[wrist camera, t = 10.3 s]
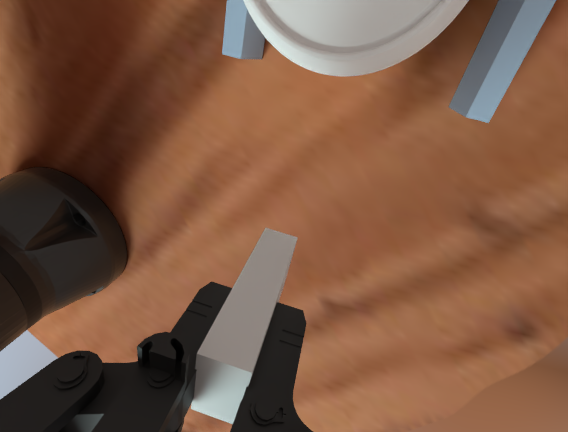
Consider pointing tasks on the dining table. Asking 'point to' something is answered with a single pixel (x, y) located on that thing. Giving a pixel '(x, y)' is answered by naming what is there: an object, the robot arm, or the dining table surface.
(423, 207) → the dining table surface
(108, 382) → the robot arm
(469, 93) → the corral
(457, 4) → the beverage can
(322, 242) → the dining table surface
